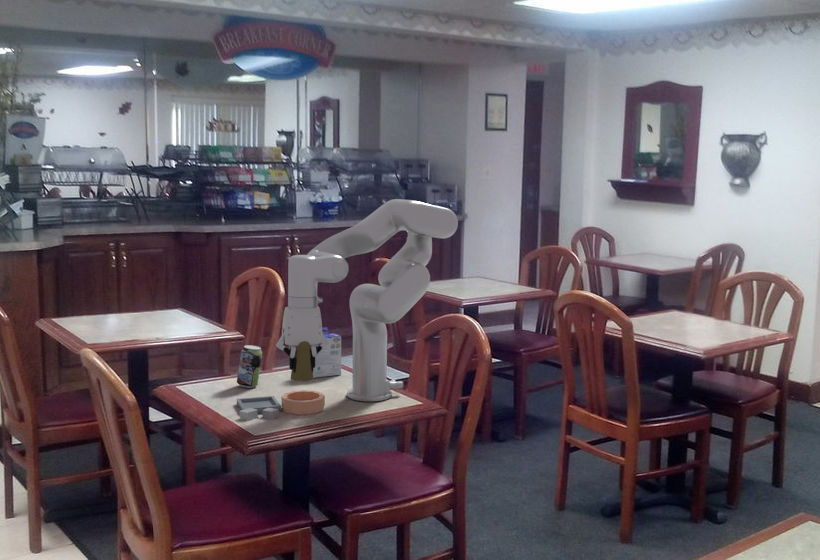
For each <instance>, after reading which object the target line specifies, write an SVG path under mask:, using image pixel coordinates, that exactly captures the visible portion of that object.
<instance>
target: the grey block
mask: <svg viewBox="0 0 820 560" xmlns="http://www.w3.org/2000/svg"><path fill="white" fill-rule="evenodd" d="M261 414H262V418H266V419H271V420H272V419H273V418H274V419H275V417H276V418H278V417H279V415H280V412H279V409H274V408H266V409H264V410H262V413H261ZM277 416H278V417H277Z"/></svg>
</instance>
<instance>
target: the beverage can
mask: <svg viewBox="0 0 820 560" xmlns="http://www.w3.org/2000/svg"><path fill="white" fill-rule="evenodd" d="M262 358H263V351H262V347H260V346H258V345H252V344H251V345H250V344H246V345H244V346H243V348H242V349H241V351H240V357H239V364H238V369H237V370H238V371H237V378H236V383H237V384H238V385H239V386H240V387H242V388H247V389H251V388H252V389H253V388H255V387H256V386H258V385H259V378H260V373H261V365H262Z"/></svg>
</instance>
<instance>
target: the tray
mask: <svg viewBox="0 0 820 560" xmlns="http://www.w3.org/2000/svg"><path fill="white" fill-rule="evenodd" d="M236 406H237V408H238V409H239V410H240V411H241V410H244V409H248V408H253V409H257V410H258V414H262V410H264V409H266V408H274V409H279V411H280V412H282V404H280V402H279V401H278V400H277V398H276V397H275V396H274V395H268V396H257V397H255V396H254V397H244V398H243V397H242V398H236ZM240 411H239V412H240Z"/></svg>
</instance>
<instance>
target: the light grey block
mask: <svg viewBox="0 0 820 560" xmlns="http://www.w3.org/2000/svg"><path fill="white" fill-rule="evenodd" d="M258 417H259V413H258V410H257V409H253V408H248V409H244V410H241V411H239V419H240V418H241V419H240V420H243V419H244V420H243V421H247V420H248V421H250V419H251V420H254V419H257V418H258ZM253 418H254V419H253Z"/></svg>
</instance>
